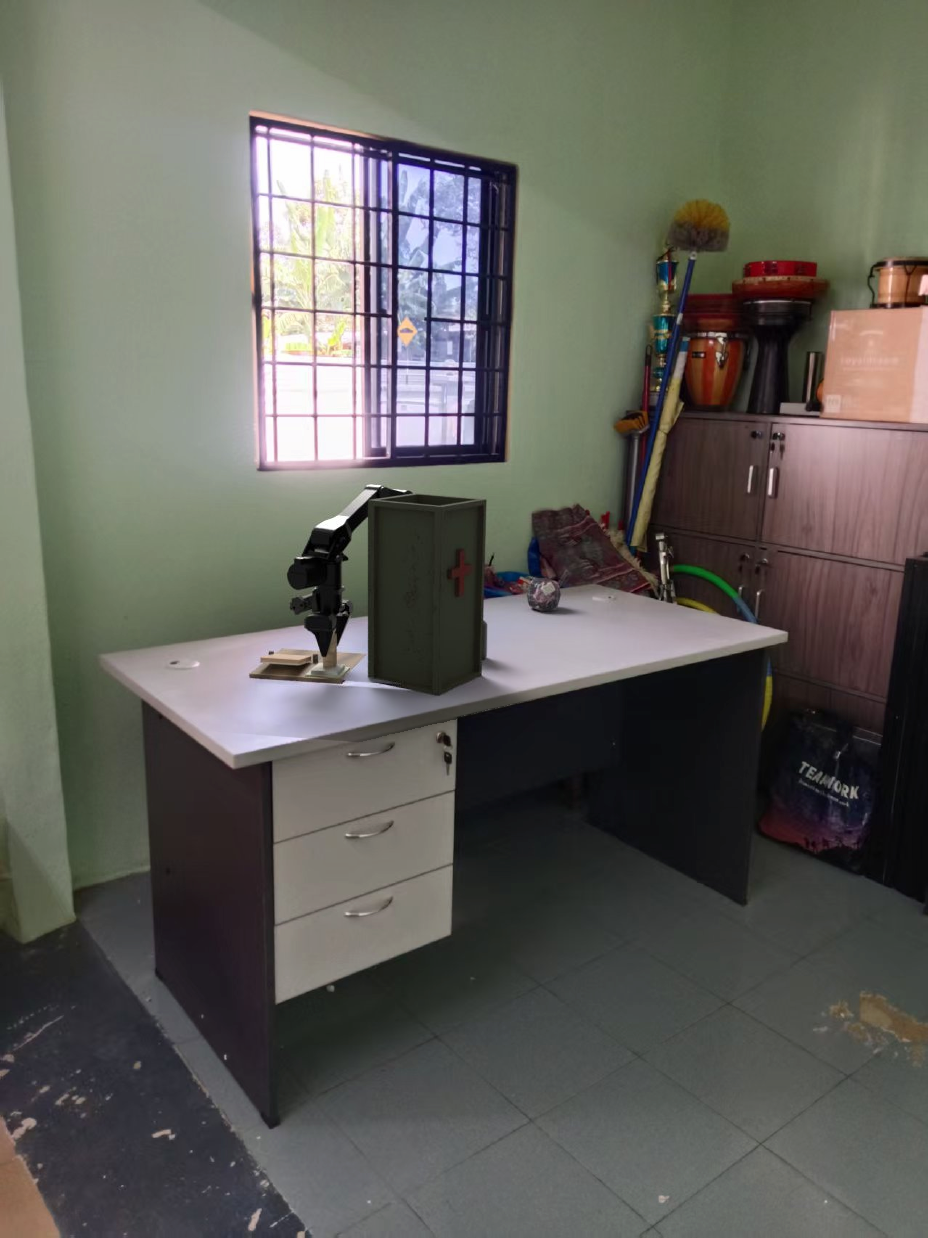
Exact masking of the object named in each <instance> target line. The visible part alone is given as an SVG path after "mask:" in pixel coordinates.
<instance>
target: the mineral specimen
mask: <svg viewBox="0 0 928 1238" xmlns="http://www.w3.org/2000/svg"><path fill="white" fill-rule="evenodd" d="M561 593H562V592H561V590H560V585H559V583H558V581H555V580H553V579H550V578H547V577H544V578H543V577H541V578H540V577H539V578H533V579H532V580H531V581H530V582H529V585H528V589H527V593H526V599H527V605H528V607H530V608H532V609H535V610H537V611H540V612H554V611H555V610H557V608H558V606H559V605H560V604H559V603H560V599H561V596H562V595H561Z"/></svg>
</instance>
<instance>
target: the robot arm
mask: <svg viewBox="0 0 928 1238" xmlns="http://www.w3.org/2000/svg"><path fill="white" fill-rule="evenodd" d="M407 494H414V493H413V492H412V491H411V490H406V489H397V488H389V487H386V486H385V485H379V484H368V485H366V486H364V488H363V491H362V492H361V493H359V495H358V496H357V497H355V499H354V500H352V501H351V502H350V503H349V504H348V505H347V506H346V507H345V508H344V509H343V510H342V511H340V512H339V513H338V515H337V516H336V515H335V517H333V518H329V519H326V520H324V521H323V522H321V523H319V524H318V525H316V526H314V527H313V529H312V530H311V532H310V536H309V537H308V539H307V542H306V545H305V546H304V549H303V551H302V553H301V557H299V556H298V557H297V556H296V557H293V564H291V565H290V566H289V567H288V569H287V573H286V579H287V582H288V584H289V586H290V587H291V588H292V589H293V590H295V591H301V590H307V589H311V588H313V589H312V592H311V593H309V594H305V595H302V596H301V595H300V594H299V595H297V596H294V597H292V598H291V601H290V602H289V605H290V606H289V610H290V611H292V612H293V615H294V616H299V615H300V614H301V613H306V612H307V611H311V613H310V614H309V615H307V616H306V617H305V618H304V619H303V626H304V627H303V628H304V629H306V631H308V632H310V633H311V634H313V635H314V638H315V641H316V643H317V647H318V651H320V653H321V656H322V657H327V654H328V651H329V648H330V645H331V643H332V640H333V637H334V634H335V633H336V634H337V647H338V646H339V645H340V642H341V640H342V638H343V637H342V636H343V635H344V633H345V630H346V628H347V625H348V623H349V621H350V619H351V617H352V613H353V612H354V603H353V602H352V601H351V600H350V599H343V593H344V592H345V591H346V589H345V588H346V587H345V585H343V562H348V561H349V559H350V558H349V557H348V556H347V555H346V554H345V553H344V551H345V550H346V549H347V547H348V546H349V544H350V543H351V541H352V536H353V533H354V531H356V530H357V528H358V527H360V526H361V524H362V523H363V522H364V521H365V520H367V519H368V500H372V499H379V498H386V497H393V496H400V495H407ZM346 612H347V613H346Z"/></svg>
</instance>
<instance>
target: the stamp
mask: <svg viewBox="0 0 928 1238" xmlns="http://www.w3.org/2000/svg"><path fill="white" fill-rule="evenodd" d="M337 652H338V646H337V634H336V633H335V634H334V637H333V640H332V643H331V645H330V648H329V651H328V654H327V657H323V663H318V664H317V665H316V666H315V667H314V668H313V669H312V670H311V674H323V675H338V674H339V673H340V672H341V671H342V670H343V669H344V668H345V665H343V664H337Z"/></svg>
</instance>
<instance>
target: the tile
mask: <svg viewBox="0 0 928 1238" xmlns="http://www.w3.org/2000/svg"><path fill="white" fill-rule="evenodd" d="M310 661H311V656H303V655H287V654H275V653H274V654H271V655H269V654H268V655H264V656H261V657H260V660H259V662H260V664H263V663H271V664H286V665H302V664H304V663H307V662H310Z"/></svg>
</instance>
